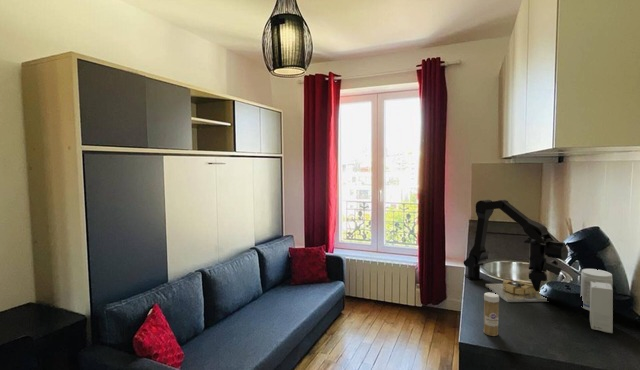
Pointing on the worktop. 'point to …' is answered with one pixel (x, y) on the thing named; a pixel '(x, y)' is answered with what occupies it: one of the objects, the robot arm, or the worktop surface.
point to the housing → (515, 297)
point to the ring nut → (523, 290)
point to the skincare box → (601, 306)
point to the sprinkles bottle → (491, 314)
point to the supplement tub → (592, 276)
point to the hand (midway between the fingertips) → (536, 291)
